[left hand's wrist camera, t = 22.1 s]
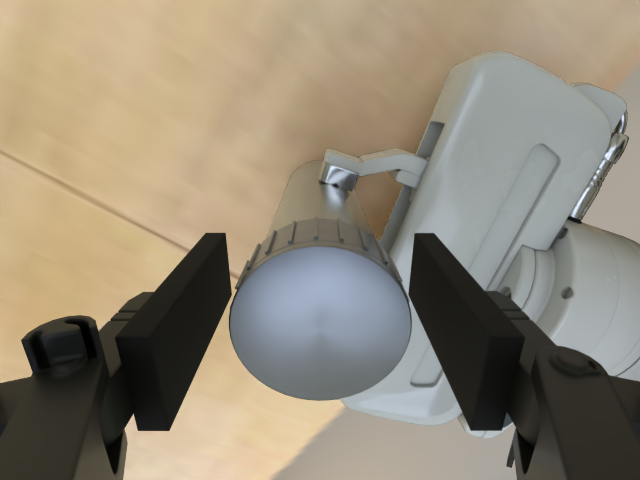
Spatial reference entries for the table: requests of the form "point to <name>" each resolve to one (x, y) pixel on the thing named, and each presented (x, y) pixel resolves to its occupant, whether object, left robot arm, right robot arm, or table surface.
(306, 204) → the metal thermos flask
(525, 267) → the right robot arm
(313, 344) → the lid
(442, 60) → the table surface
